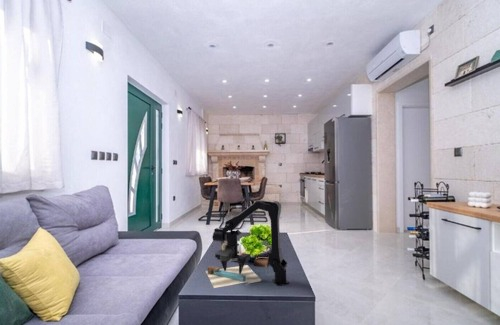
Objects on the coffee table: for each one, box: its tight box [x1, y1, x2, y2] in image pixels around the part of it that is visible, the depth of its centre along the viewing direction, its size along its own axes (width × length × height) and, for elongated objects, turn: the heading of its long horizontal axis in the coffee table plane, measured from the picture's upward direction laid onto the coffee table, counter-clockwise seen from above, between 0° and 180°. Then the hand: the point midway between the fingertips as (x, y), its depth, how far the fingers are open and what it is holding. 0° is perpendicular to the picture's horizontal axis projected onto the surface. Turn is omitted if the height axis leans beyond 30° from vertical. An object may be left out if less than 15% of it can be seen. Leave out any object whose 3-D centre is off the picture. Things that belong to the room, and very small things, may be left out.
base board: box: [205, 264, 262, 289], centre depth 134 cm, size 21×24×1 cm
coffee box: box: [220, 240, 238, 262], centre depth 159 cm, size 9×6×16 cm
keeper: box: [207, 265, 221, 275], centre depth 136 cm, size 6×3×3 cm, turn 60°
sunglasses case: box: [253, 257, 269, 268], centre depth 156 cm, size 18×7×7 cm
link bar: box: [214, 270, 246, 281], centre depth 132 cm, size 18×3×2 cm, turn 61°
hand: (232, 272), depth 135 cm, fingers open, 9 cm apart
